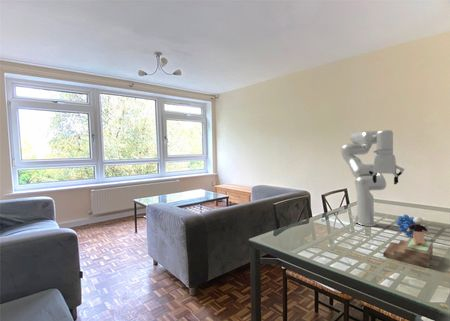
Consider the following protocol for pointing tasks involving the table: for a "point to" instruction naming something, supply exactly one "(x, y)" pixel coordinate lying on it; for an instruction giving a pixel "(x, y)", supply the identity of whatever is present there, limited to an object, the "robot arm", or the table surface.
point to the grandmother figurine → (418, 231)
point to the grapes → (405, 224)
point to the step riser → (410, 252)
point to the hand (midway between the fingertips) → (385, 183)
